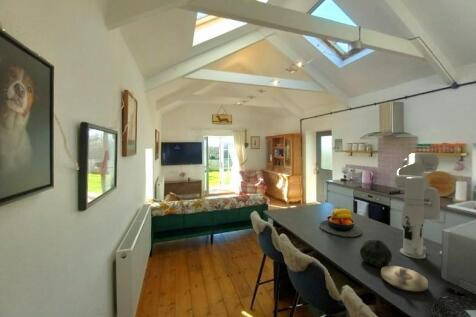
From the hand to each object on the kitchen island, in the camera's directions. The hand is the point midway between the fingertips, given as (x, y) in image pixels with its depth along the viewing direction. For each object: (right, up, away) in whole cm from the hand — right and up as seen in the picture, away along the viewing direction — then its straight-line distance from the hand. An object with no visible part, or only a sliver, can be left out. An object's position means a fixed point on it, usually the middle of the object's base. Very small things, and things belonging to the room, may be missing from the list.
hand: (412, 237), depth 112 cm
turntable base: (-7, -20, -4) cm, 22 cm away
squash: (-9, -20, +15) cm, 27 cm away
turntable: (-7, -18, -4) cm, 20 cm away
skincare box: (0, -4, 0) cm, 4 cm away
